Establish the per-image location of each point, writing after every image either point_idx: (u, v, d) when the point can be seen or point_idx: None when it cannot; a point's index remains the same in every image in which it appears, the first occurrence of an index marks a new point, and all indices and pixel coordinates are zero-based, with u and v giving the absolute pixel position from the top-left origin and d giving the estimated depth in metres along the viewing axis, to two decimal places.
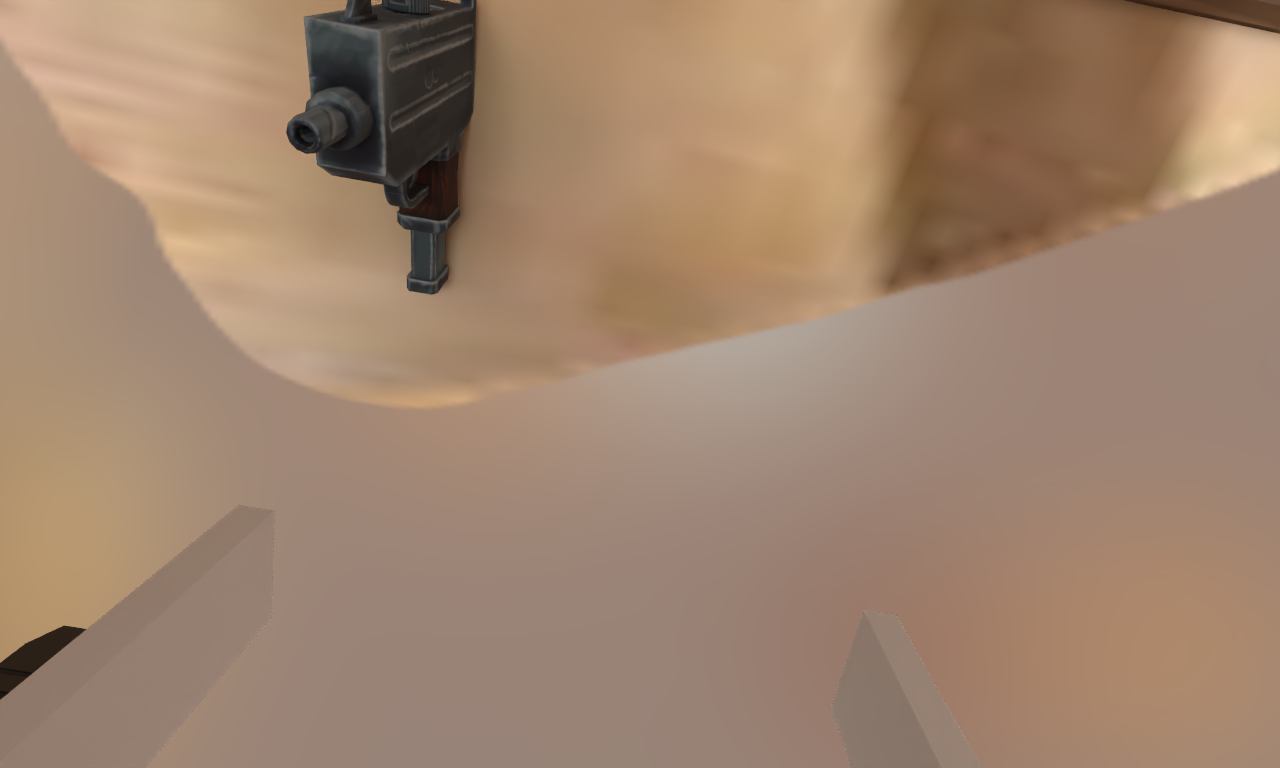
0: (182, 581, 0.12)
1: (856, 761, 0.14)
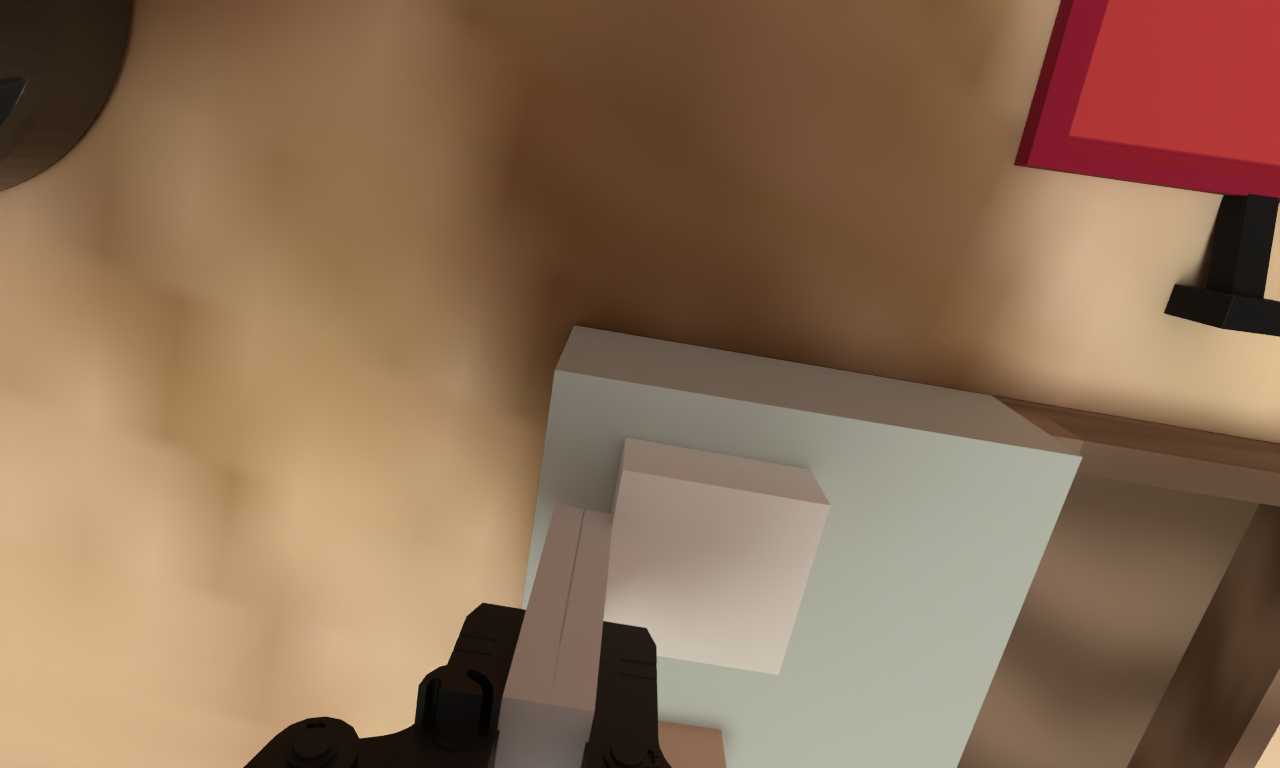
0: (563, 567, 0.14)
1: None
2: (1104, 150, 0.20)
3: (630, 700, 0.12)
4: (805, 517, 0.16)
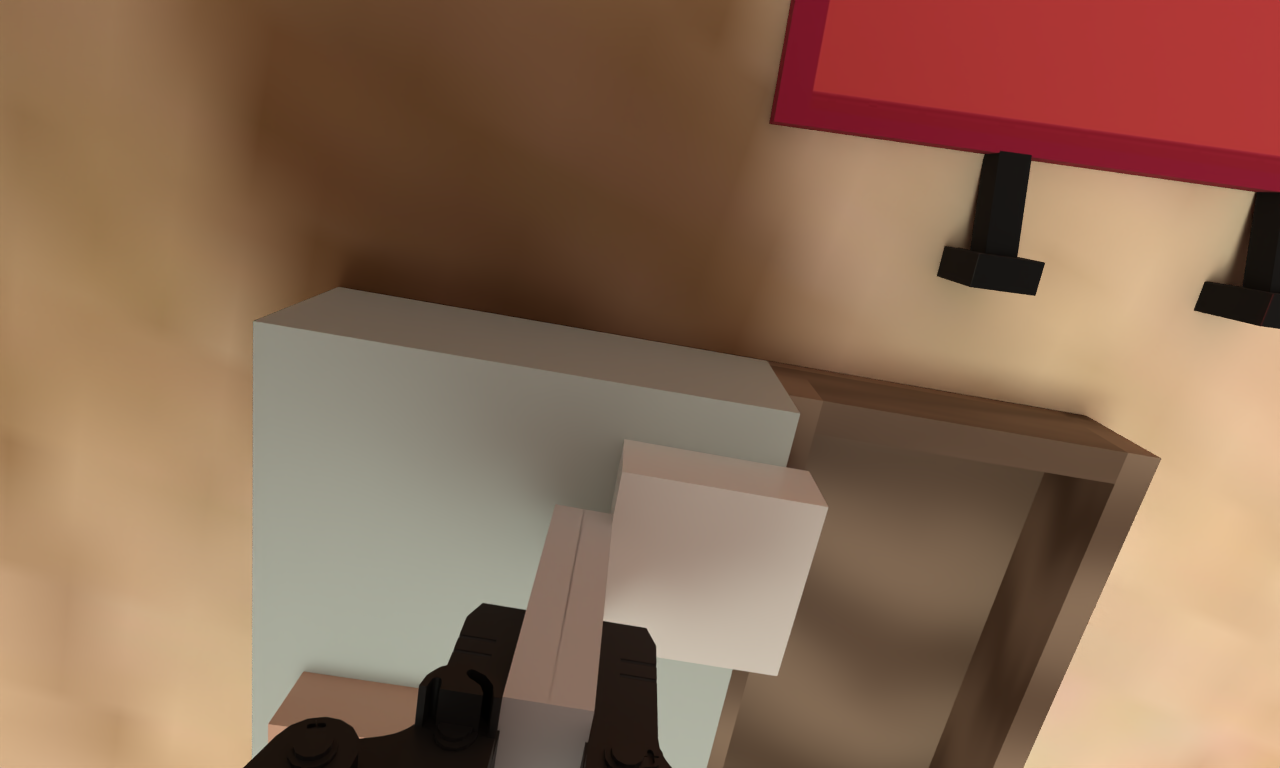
0: (563, 567, 0.14)
1: None
2: (850, 105, 0.19)
3: (630, 699, 0.12)
4: (803, 519, 0.16)
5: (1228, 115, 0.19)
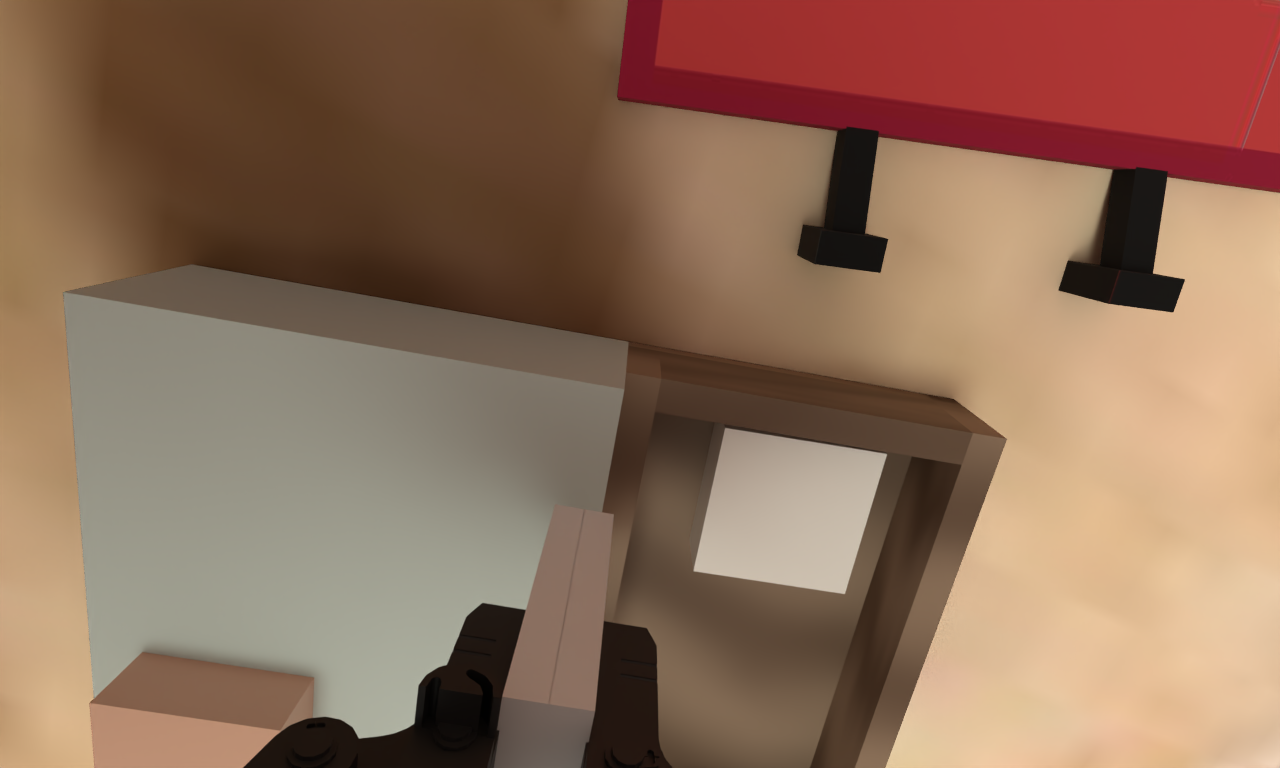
0: (563, 567, 0.14)
1: None
2: (693, 81, 0.19)
3: (631, 700, 0.12)
4: None
5: (1074, 90, 0.19)
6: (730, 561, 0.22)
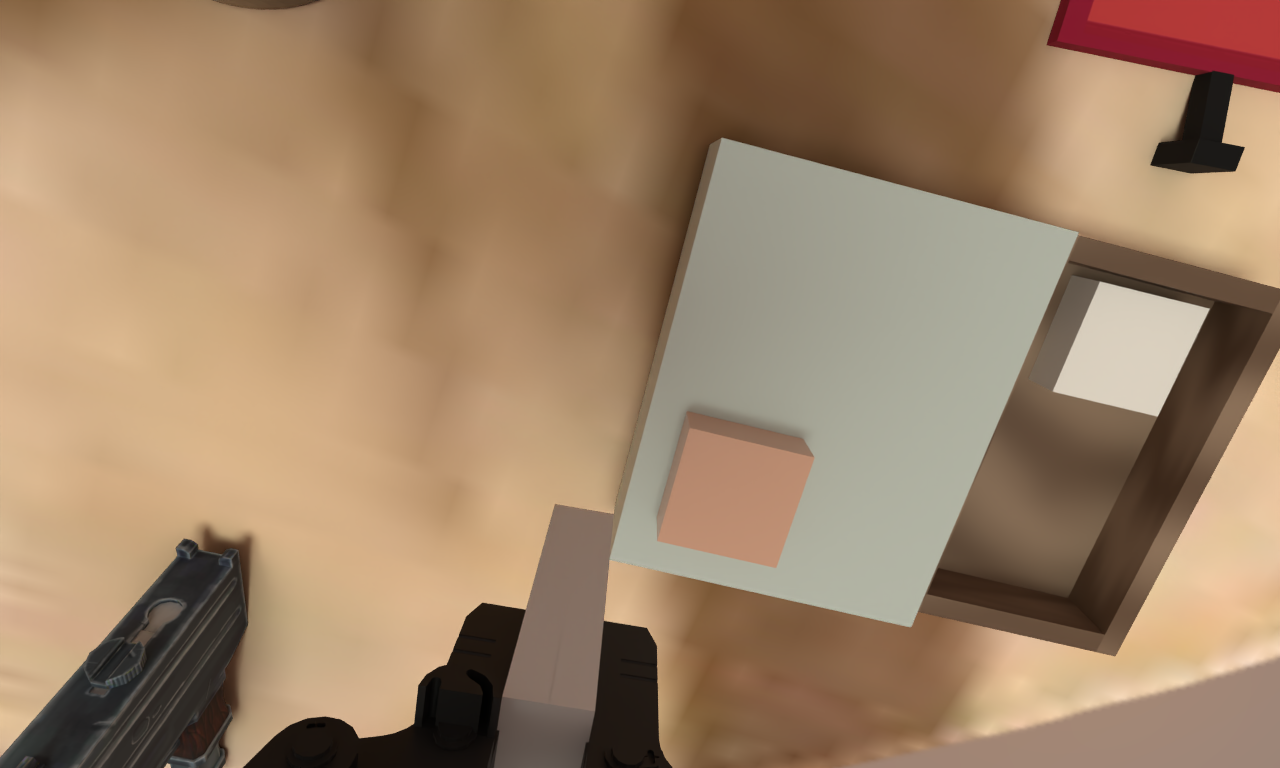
0: (563, 567, 0.14)
1: None
2: (1111, 32, 0.28)
3: (630, 699, 0.12)
4: None
5: None
6: (1080, 385, 0.30)
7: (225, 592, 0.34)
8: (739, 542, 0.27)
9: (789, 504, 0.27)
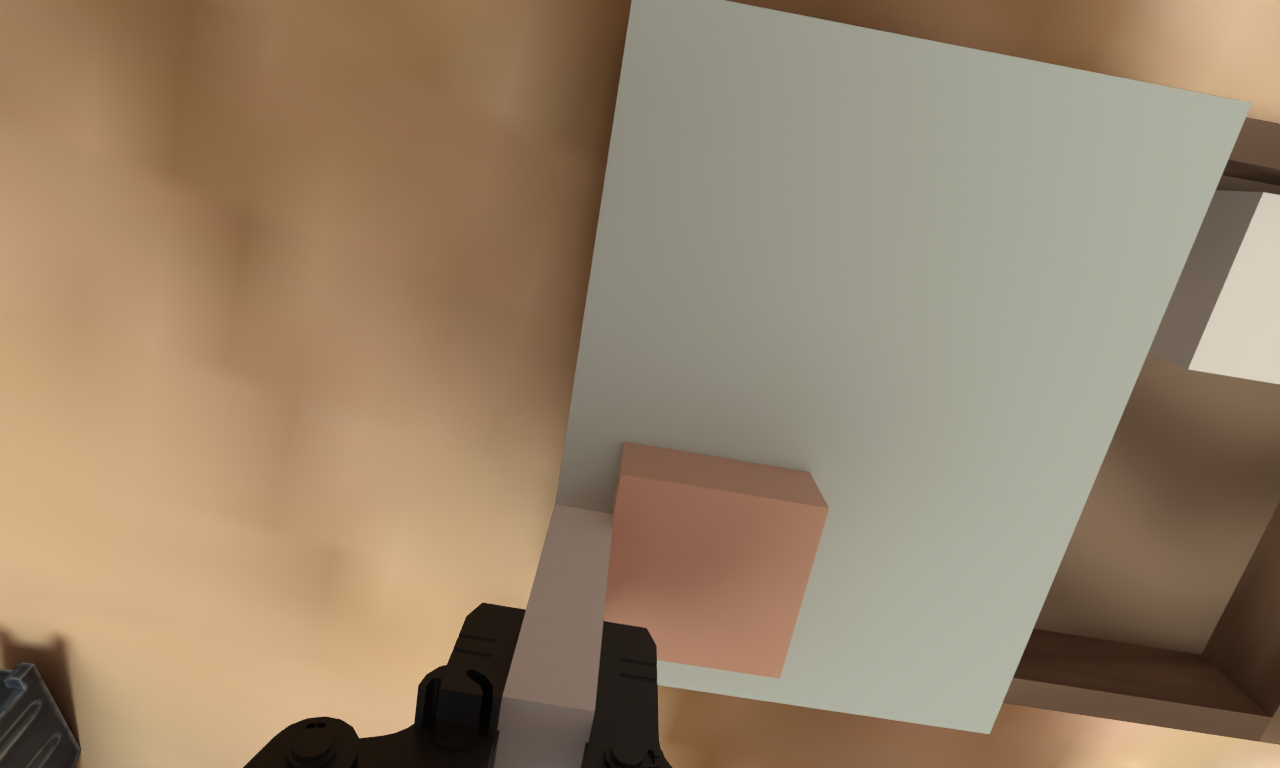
0: (563, 567, 0.14)
1: None
2: None
3: (631, 700, 0.12)
4: None
5: None
6: (1231, 357, 0.20)
7: (18, 724, 0.24)
8: (718, 644, 0.17)
9: (793, 582, 0.17)
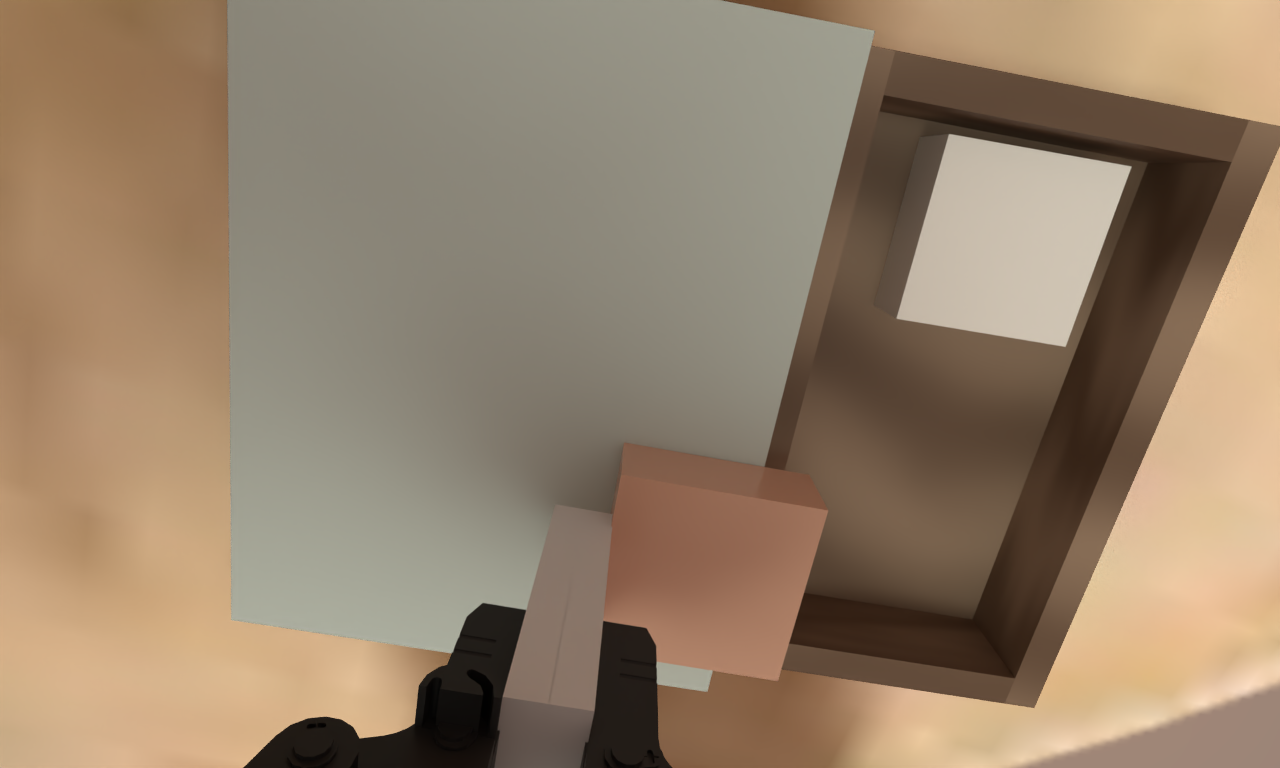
0: (564, 567, 0.14)
1: None
2: None
3: (630, 700, 0.12)
4: None
5: None
6: (939, 306, 0.19)
7: None
8: (716, 646, 0.17)
9: (792, 585, 0.17)
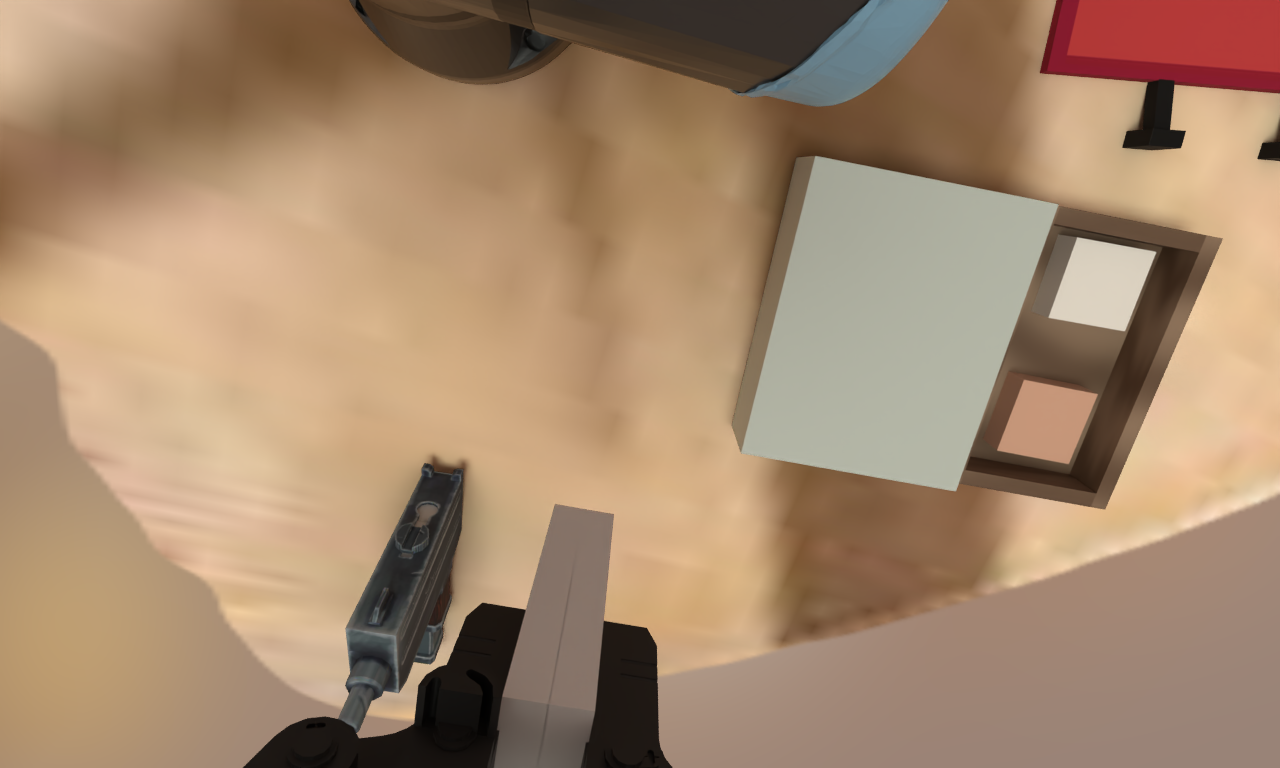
0: (563, 567, 0.14)
1: None
2: (1085, 61, 0.40)
3: (631, 699, 0.12)
4: None
5: (1272, 55, 0.40)
6: (1068, 312, 0.43)
7: (457, 499, 0.47)
8: None
9: None
